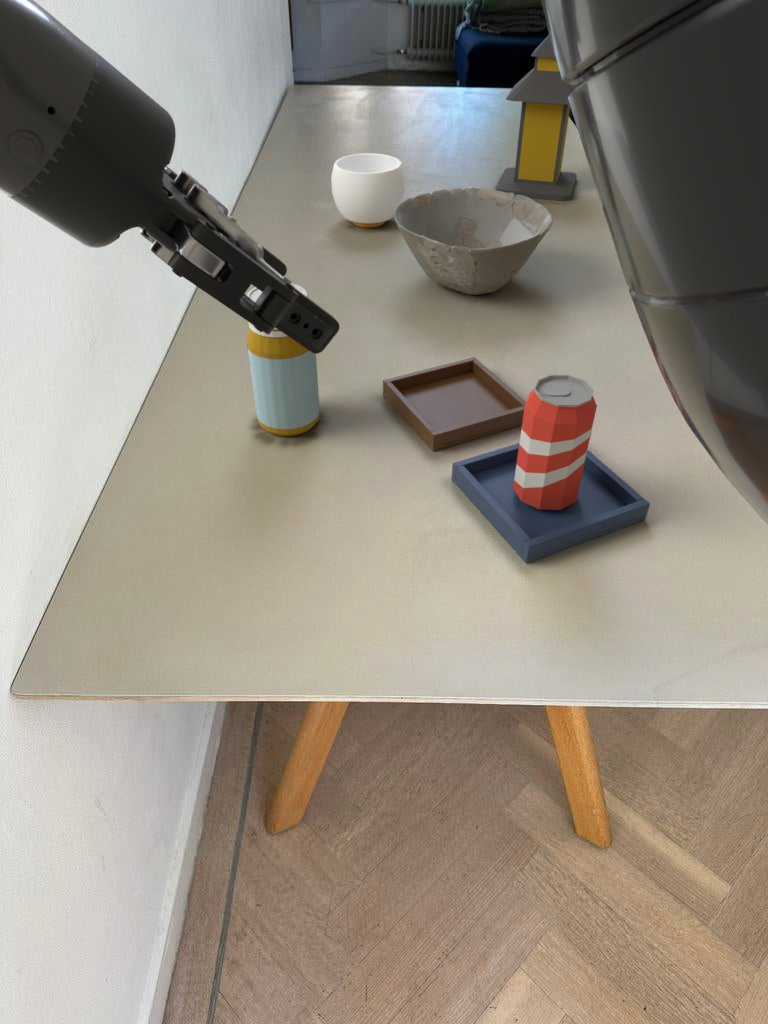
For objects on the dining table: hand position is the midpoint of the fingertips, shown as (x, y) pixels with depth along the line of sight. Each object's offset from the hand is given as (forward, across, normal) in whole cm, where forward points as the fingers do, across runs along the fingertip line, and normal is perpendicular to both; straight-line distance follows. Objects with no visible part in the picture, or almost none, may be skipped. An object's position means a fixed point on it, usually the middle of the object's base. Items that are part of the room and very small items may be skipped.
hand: (301, 307), depth 45 cm
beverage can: (+37, +5, +2) cm, 38 cm away
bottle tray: (+38, +23, +2) cm, 44 cm away
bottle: (+25, +29, +15) cm, 41 cm away
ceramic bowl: (+51, +52, -12) cm, 74 cm away
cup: (+49, +81, -9) cm, 95 cm away
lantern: (+75, +84, -35) cm, 118 cm away
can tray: (+38, +5, +2) cm, 38 cm away
